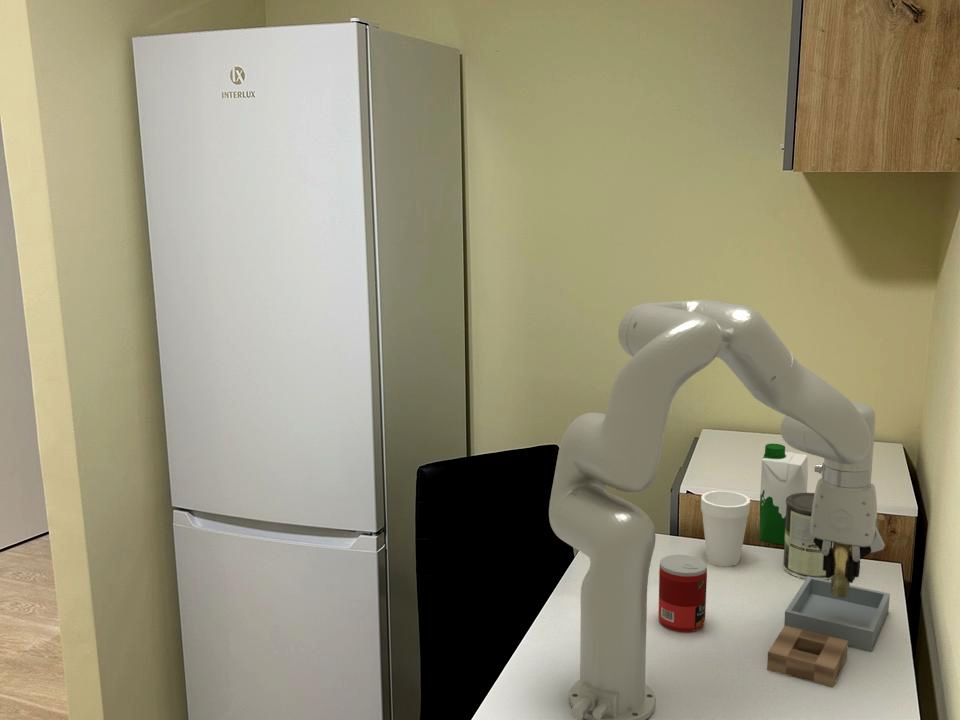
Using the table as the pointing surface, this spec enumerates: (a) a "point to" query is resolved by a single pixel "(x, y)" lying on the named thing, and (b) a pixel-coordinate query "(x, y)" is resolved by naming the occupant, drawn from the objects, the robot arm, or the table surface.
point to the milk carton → (779, 489)
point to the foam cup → (724, 525)
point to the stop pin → (840, 570)
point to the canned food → (682, 592)
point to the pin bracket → (808, 655)
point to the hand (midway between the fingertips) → (840, 576)
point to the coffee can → (801, 539)
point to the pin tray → (839, 612)
